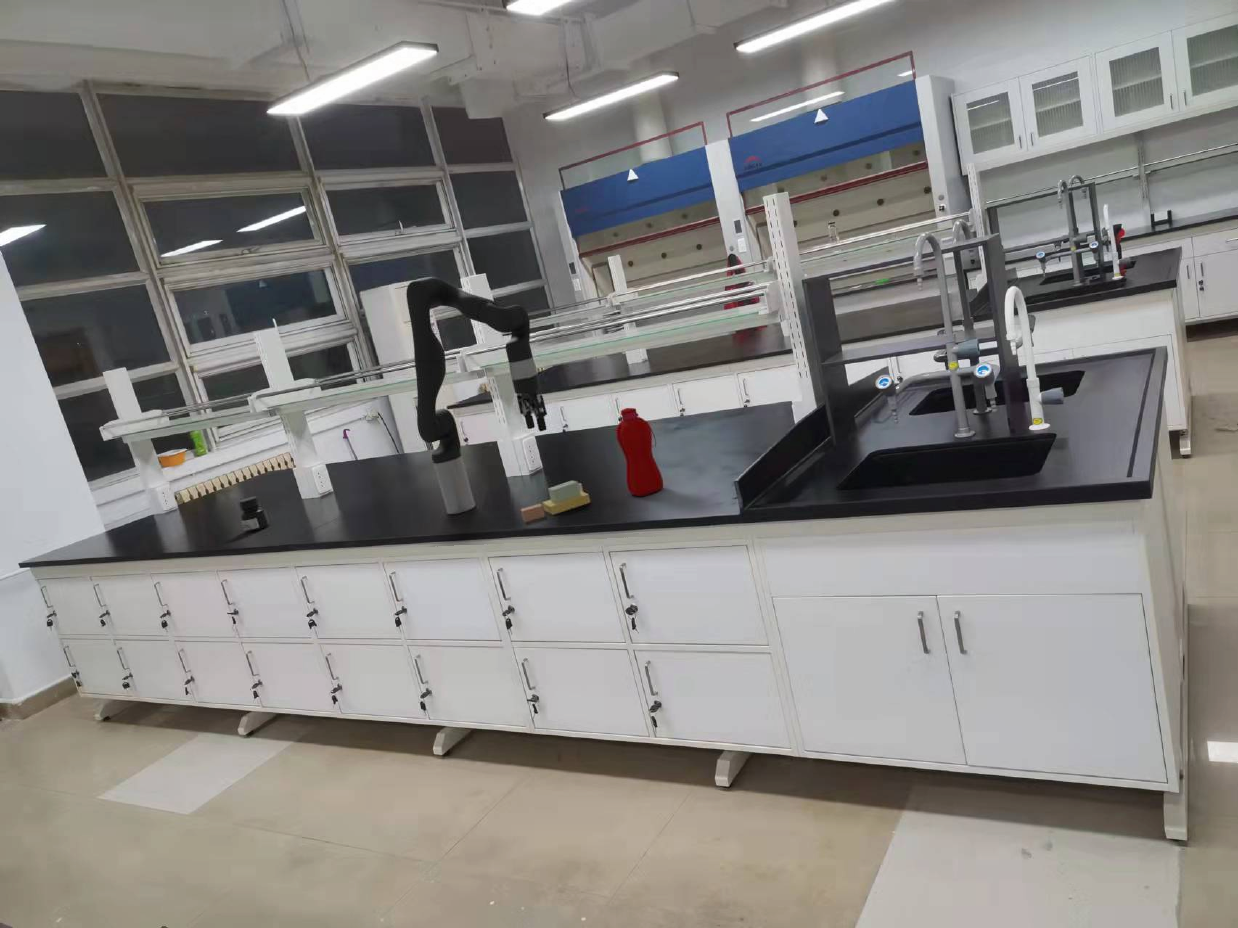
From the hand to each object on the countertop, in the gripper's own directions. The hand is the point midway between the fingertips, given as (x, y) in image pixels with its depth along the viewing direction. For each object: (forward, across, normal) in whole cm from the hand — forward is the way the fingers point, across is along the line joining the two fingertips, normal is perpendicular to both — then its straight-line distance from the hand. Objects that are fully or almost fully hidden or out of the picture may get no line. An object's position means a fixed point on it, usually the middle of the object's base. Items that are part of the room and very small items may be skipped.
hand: (537, 429), depth 252 cm
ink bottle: (+28, -116, -74) cm, 140 cm away
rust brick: (+24, +4, -9) cm, 26 cm away
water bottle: (+23, +20, +22) cm, 38 cm away
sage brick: (+21, +4, +2) cm, 22 cm away
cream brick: (+24, -5, +9) cm, 26 cm away
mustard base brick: (+24, +5, +2) cm, 25 cm away
